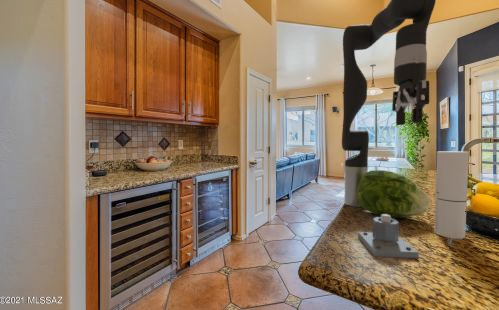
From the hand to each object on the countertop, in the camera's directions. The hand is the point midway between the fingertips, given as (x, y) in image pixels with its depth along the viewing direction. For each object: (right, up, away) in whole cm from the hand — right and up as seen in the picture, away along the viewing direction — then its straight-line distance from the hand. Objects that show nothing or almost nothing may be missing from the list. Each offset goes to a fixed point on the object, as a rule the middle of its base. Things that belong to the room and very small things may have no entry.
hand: (408, 123), depth 67 cm
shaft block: (-8, -33, -3) cm, 35 cm away
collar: (-8, -31, -3) cm, 33 cm away
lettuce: (+8, -32, +23) cm, 40 cm away
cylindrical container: (+16, -33, +5) cm, 37 cm away
